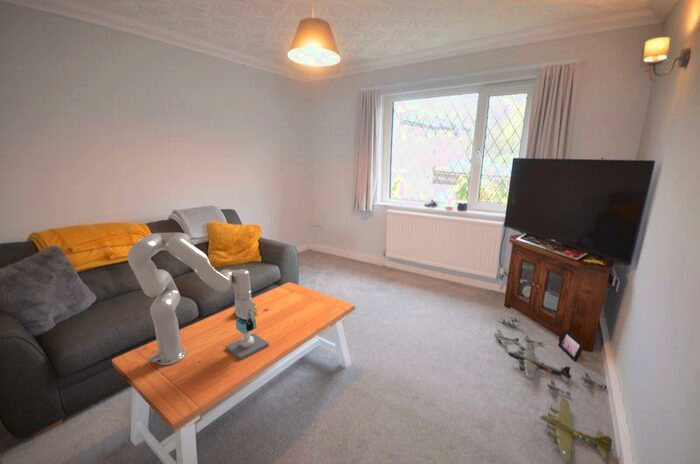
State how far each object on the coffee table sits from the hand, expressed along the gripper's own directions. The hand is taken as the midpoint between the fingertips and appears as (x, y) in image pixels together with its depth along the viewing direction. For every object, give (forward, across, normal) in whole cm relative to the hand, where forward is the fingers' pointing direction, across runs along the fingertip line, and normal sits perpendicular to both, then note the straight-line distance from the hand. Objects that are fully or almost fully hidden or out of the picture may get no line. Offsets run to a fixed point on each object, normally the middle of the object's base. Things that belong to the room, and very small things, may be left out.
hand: (246, 327), depth 158 cm
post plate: (+11, 0, 0) cm, 11 cm away
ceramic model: (+12, -32, +18) cm, 39 cm away
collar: (+1, 0, 0) cm, 1 cm away
